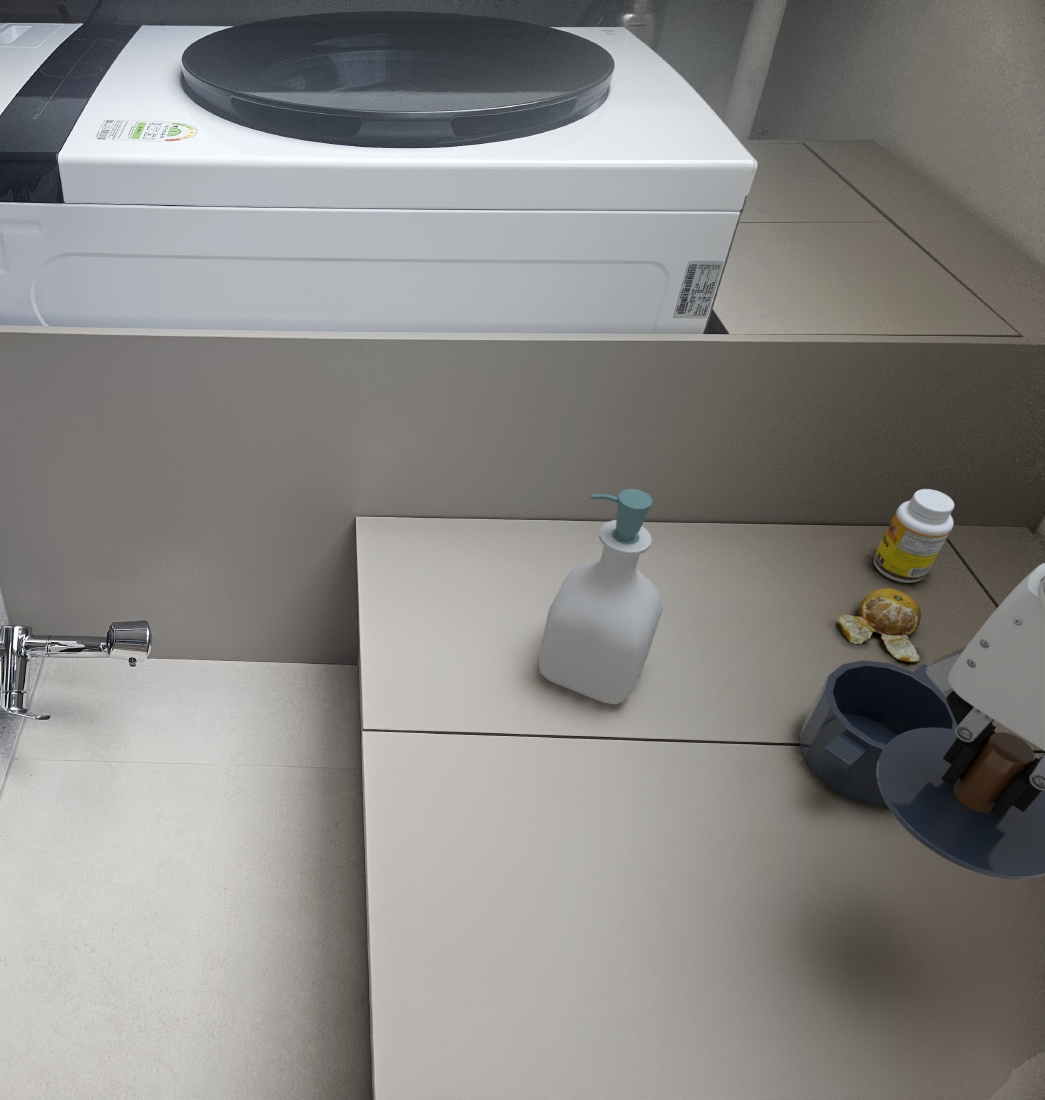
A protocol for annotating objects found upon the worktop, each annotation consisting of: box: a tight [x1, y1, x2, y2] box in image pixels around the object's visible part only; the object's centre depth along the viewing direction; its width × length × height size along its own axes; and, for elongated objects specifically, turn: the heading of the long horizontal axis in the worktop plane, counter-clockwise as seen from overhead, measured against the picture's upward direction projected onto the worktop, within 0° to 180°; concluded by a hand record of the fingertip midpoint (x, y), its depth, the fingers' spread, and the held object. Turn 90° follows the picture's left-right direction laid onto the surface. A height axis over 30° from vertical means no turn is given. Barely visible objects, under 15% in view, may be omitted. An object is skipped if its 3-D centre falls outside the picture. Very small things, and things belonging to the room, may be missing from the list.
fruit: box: [837, 587, 922, 663], centre depth 102 cm, size 8×8×4 cm
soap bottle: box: [538, 488, 664, 705], centre depth 92 cm, size 10×10×23 cm
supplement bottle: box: [873, 488, 955, 584], centre depth 107 cm, size 6×6×10 cm
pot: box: [799, 659, 958, 808], centre depth 88 cm, size 11×16×8 cm
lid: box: [876, 728, 1045, 880], centre depth 64 cm, size 12×12×7 cm
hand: (981, 787), depth 65 cm, fingers closed on lid, 2 cm apart
